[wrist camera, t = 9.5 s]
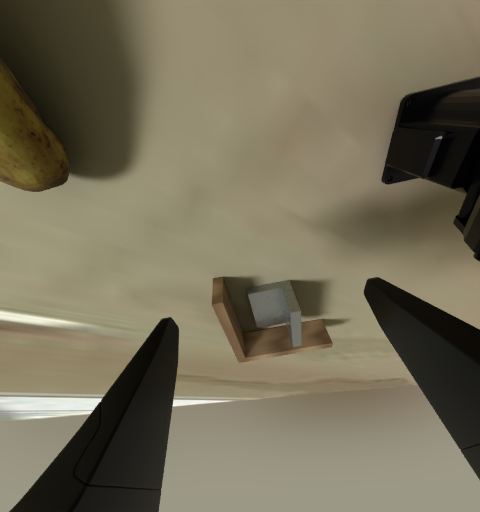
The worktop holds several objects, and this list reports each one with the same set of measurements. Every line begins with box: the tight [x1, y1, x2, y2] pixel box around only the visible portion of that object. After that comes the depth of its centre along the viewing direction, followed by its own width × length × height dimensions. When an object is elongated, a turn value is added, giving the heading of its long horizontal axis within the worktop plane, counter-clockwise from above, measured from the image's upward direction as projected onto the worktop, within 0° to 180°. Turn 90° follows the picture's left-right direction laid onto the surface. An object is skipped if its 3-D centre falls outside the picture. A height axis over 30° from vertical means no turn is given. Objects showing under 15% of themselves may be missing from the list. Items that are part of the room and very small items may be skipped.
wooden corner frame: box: [212, 277, 333, 363], centre depth 27 cm, size 14×15×4 cm
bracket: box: [247, 280, 302, 347], centre depth 26 cm, size 8×6×5 cm
